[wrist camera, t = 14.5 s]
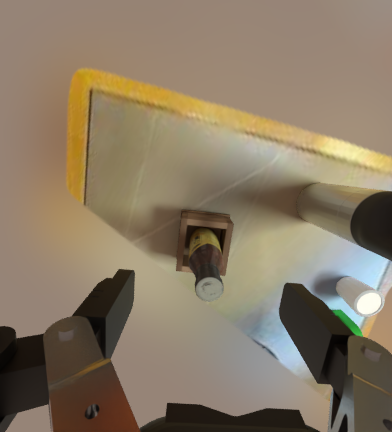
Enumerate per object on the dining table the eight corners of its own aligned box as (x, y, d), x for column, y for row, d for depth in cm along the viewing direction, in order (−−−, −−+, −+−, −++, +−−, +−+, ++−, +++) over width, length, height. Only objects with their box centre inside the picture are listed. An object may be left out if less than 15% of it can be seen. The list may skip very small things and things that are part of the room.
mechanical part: (317, 311, 55) (338, 335, 47) (340, 309, 55) (365, 332, 47) (315, 348, 57) (334, 377, 50) (336, 347, 57) (359, 375, 49)
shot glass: (361, 273, 52) (387, 289, 45) (358, 297, 54) (382, 316, 47) (334, 274, 52) (355, 291, 45) (332, 299, 54) (352, 318, 47)
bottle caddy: (229, 214, 48) (235, 222, 41) (221, 262, 51) (226, 277, 44) (181, 209, 48) (180, 216, 41) (176, 257, 50) (174, 272, 44)
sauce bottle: (193, 222, 47) (194, 260, 28) (220, 229, 48) (238, 271, 28) (186, 248, 49) (182, 301, 29) (212, 255, 49) (224, 311, 30)
